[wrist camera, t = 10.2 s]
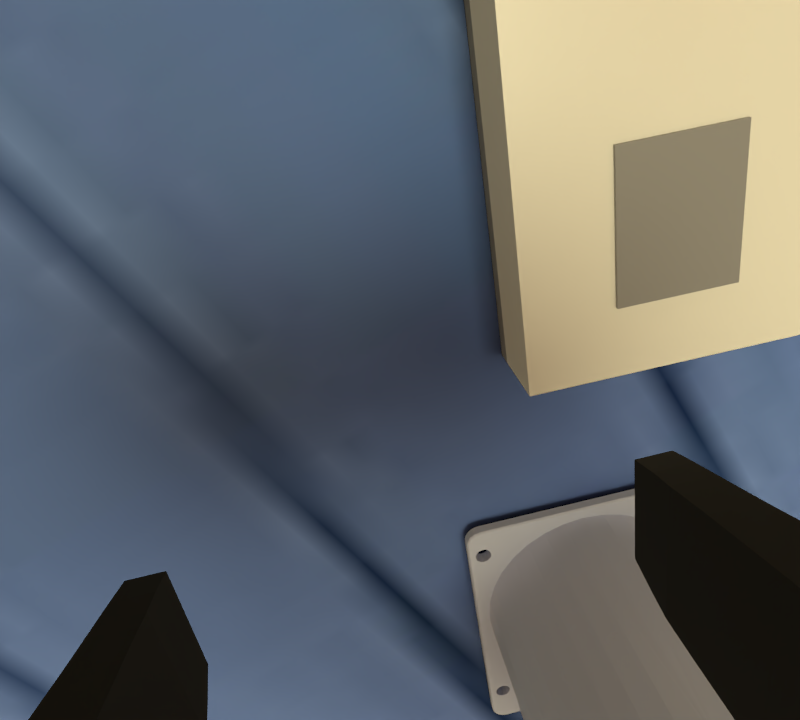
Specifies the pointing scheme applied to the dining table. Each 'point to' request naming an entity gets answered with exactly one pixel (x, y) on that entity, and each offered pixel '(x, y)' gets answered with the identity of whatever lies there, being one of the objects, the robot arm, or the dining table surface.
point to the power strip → (638, 179)
